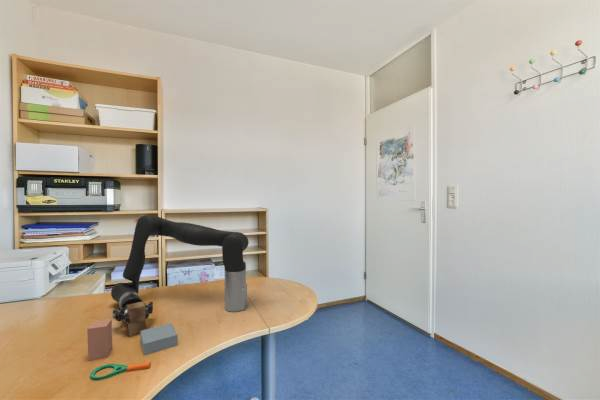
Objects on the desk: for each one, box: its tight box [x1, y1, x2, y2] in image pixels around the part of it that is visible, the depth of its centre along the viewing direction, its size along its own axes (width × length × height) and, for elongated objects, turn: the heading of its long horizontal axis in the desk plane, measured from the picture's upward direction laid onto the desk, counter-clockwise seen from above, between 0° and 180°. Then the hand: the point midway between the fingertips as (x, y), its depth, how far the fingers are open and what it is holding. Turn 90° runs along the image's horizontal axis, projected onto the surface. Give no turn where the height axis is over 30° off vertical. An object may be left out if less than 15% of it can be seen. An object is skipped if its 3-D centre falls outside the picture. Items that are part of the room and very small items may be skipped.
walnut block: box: [127, 300, 147, 338], centre depth 102 cm, size 5×5×10 cm
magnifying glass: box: [89, 361, 152, 381], centre depth 80 cm, size 15×6×2 cm, turn 104°
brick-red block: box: [86, 318, 113, 362], centre depth 88 cm, size 5×5×10 cm
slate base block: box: [139, 322, 179, 356], centre depth 95 cm, size 10×10×4 cm
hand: (137, 318), depth 100 cm, fingers closed on walnut block, 5 cm apart
